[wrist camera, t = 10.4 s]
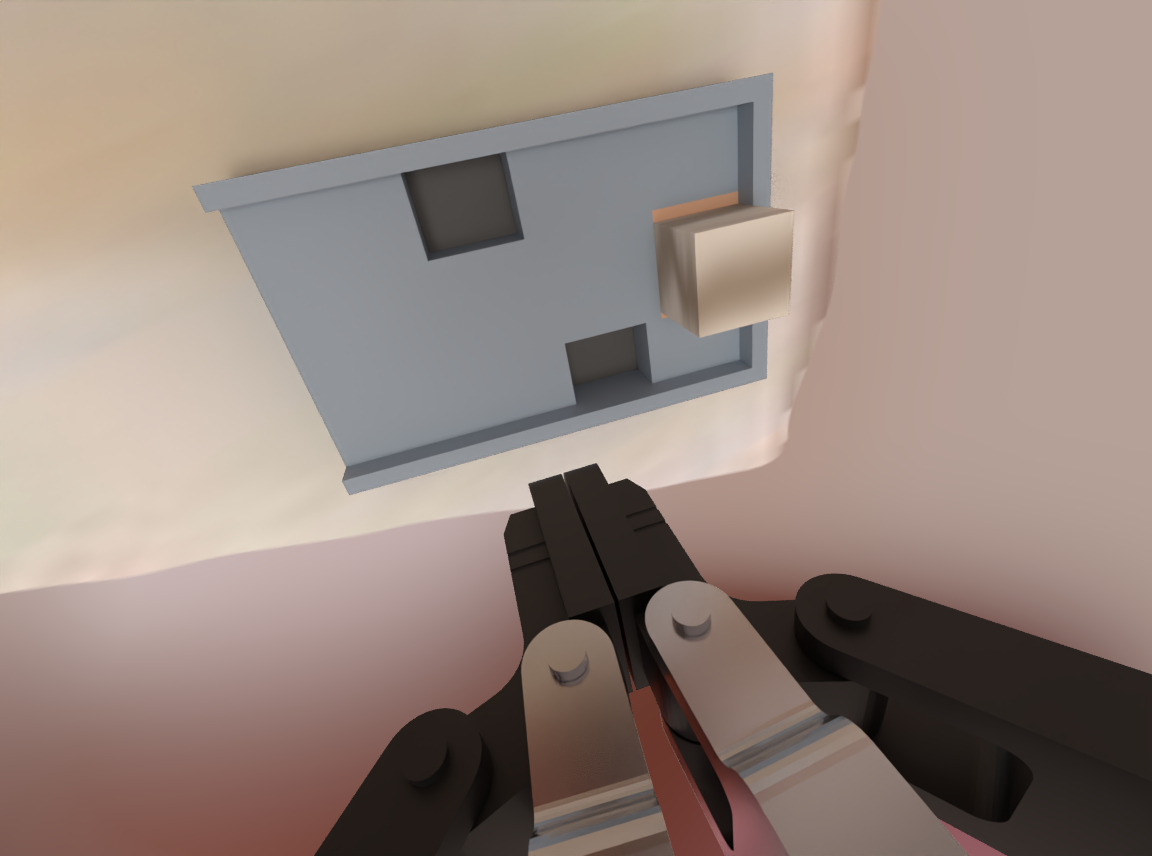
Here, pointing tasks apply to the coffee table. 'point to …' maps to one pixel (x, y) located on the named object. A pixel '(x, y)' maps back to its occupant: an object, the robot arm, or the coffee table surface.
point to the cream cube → (725, 267)
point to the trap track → (500, 275)
